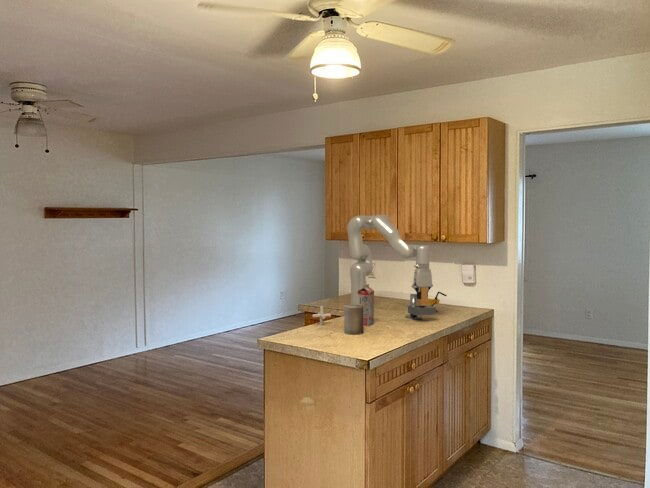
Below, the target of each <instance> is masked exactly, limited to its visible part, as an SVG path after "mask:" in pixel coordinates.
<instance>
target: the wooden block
mask: <svg viewBox="0 0 650 488" xmlns="http://www.w3.org/2000/svg"><path fill="white" fill-rule="evenodd" d="M420 292H421V299H417V305H421V306H424V305H428V303H427V287H421V289H420Z"/></svg>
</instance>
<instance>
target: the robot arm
mask: <svg viewBox="0 0 650 488" xmlns="http://www.w3.org/2000/svg"><path fill="white" fill-rule="evenodd" d="M346 227H347V228H346V229H347V236H348V237H347V238H348V246H349V254H350V255H349V256H350V257H351V258H352V260H356V262H354V263H353V264H351V266H350V269H349V276H350V305H352V304H353V305H358V291H359V290H361V289H363V285H367V278H366V277H368V276H370V275H371V274H372V273H373V260H372V259H373V258H372V251H371V249H370V247H369V246H368V245H367V244H365V243H364V242H363V235H362V232H361V231H362V230H376V231H378V233H380V234H381V235H382V236H383V237H384V238H385V240H387V242H388V243H389V245H390V246H391V247H392V249H393V250H394V251H395V252H396V253H397V254H398V255H399V256H401V257H402V258H404V259H409V258H410V259H411V258H415V265H414V268H415V269H414V273H413V283H412V285H411V288H412V289H413V290H415V292H416V294H417V299H421V292H420V289H421V287H427V299H429V292H430V290H431V288H433V287H434V285H433V278H432V277H433V275H432V270H431V268H430V246H429V245H425V244H419V245H416V244H408V243H406V242H405V241H404V240H403V238H402V237H401V236H400V233H399V230H398V228H397V227H395V226H394V225H393V224H392V222H391V218H390V217H389V216H388V215H385V214H376V215H363V214H362V215H356V216H353V217H352V218H351V219H350V220H349V222H348V223H347V226H346ZM342 311H344V312H345V308H344V307H343V310H342Z"/></svg>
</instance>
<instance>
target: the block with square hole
mask: <svg viewBox="0 0 650 488" xmlns="http://www.w3.org/2000/svg"><path fill="white" fill-rule="evenodd" d="M409 297H410V299H409V301H410V302H407V303H405V304H404V306H405V307H407V313H408V314H409V315H405V318H407V319H410V320H421V319H423V316H431V315H437V314H436V313H437V312H436V310H437V309H436V307H435V306H433V307H432V306H429V305H430V304H429V305H428V304H427V305H424V306H421V305H417V293H410V295H409Z"/></svg>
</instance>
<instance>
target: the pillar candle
mask: <svg viewBox="0 0 650 488" xmlns="http://www.w3.org/2000/svg"><path fill="white" fill-rule="evenodd" d="M344 308H345V311H344V329H343V330H344V333H345V334H347V335H362V334H363V333H364V326H363V305H353V304H352V305H351V304H346V305H344V307H343V309H344Z"/></svg>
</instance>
